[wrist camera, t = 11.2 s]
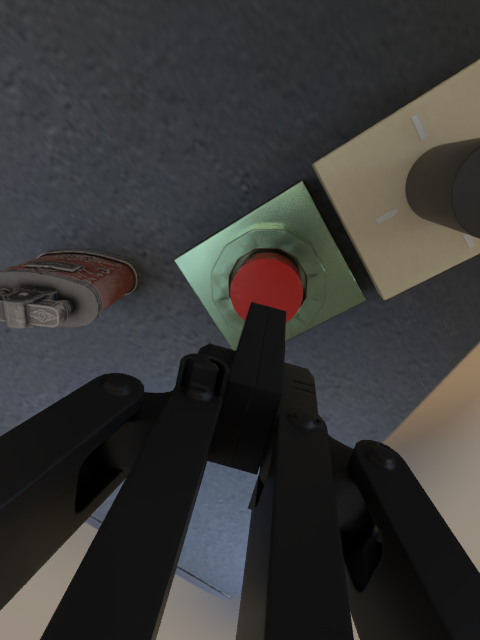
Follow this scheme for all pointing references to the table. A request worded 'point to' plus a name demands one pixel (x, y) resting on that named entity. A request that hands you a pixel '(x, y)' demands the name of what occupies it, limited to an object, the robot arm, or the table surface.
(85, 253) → the lighter
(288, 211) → the box
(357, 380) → the table surface
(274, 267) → the button
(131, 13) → the table surface
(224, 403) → the robot arm
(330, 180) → the hob panel
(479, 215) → the hob knob
